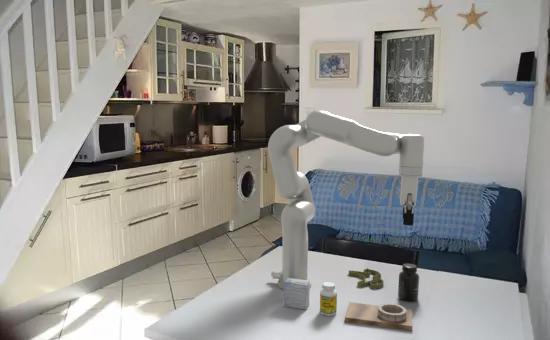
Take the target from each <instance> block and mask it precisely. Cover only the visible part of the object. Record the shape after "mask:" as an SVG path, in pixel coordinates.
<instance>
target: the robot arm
mask: <svg viewBox="0 0 550 340" xmlns="http://www.w3.org/2000/svg"><path fill="white" fill-rule="evenodd" d="M321 137H323V138H326V139H329V140H331V141H332V140H333V141H334V142H335V141H336V142H338V143H342V144H345V145H347V146H350V147H354V148H356V149H359V150H362V151H365V152H367V153H370V154H374V155H376V156H380V157H390V156H392V155H399V160H398V161H399V162H398V176H400V177H401V180H400V181H401V182H400V198H399V205H400V206H401V207H402V221H403V222H402V225H403V226H410V227H411V226H414V220H415V213H414V207H415V206H416V204H417V200H418V199H417V197H418V190H419V188H418V187H419V178H421V177H423V167H424V151H425V149H424V148H425V147H424V146H425V138H424V137H425V136H423V135H422V134H413V133H408V134H407V133H406V134H400V133H394V132H383V131H378V130H376V129H374V128H373V129H372V128H369V127H367V126H363V125H362V124H359V123H358V122H357V121H355V120H353V119H350V118H346V117H343V116H339V115H336V114H332V113H330V112H329V111H325V110H317V109H316V110H313V111H310V112H309V114H308V115H307V116H306V118H305V120H302V121H300V122H297V123H296V124H284V125H283V126H280V127H278V128H276V130H274V131H273V133H272V134H271V135H270V137H269V140H268V144H267V153H268V156H269V160H270V164H271V168H272V172H273V177H274V181H275V184H276V190H277V192H278V195H279V196H280V197H281V198H282V199H284V200H289V203H288V204H287V205H285V206H284V208H283V209H282V212H281V214H280V215H281V216H280V222H281V223H280V224H281V230H282V233H281V235H282V241H281V242H282V253H281V255H282V257H281V258H282V259H281V262H282V263H281V271H279V272H278V271H271V272H270V273H271V275H270V276H271V277H272V279H277V286H278V287H279V288H280V287H281V288H280V289H283V290H284V282H285V281H286V280H287V279H288V278H292V279H300V280H308V281H310V288H311V287H312V281H311V280H310V279H308V270H309V269H308V263H309V262H308V259H309V258H308V257H309V234H308V233H309V232H308V223H310V221H311V220H313V218H314V217H315V214H316V206H315V202H314V198H313V193H312V190H311V186H310V185H311V184H310V182H309V180H308V178H307V177H306V175H305V174H304V173H302V172H300V171H298V170H297V167H296V162H295V160H294V157H293V155H292V151H291V150H292V149H294V148H299V147H303V146H305V145H307V144H309V143H311V142H312V141H315V140H317V139H319V138H321Z"/></svg>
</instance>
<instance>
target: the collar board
mask: <svg viewBox="0 0 550 340" xmlns="http://www.w3.org/2000/svg"><path fill="white" fill-rule="evenodd" d="M344 322H345V323H351V324H359V325H365V326H366V325H367V326H373V327H380V328H387V329H395V330H403V331H408V332H410V331H411V332H412V331H413V311H412V309H408V308H405V307H404V306H403V305H400V304H396V303H390V302H387V303H386V302H385V303H382V304H380V305H377V304H369V303H368V304H367V303H361V302H353V301H349V302H348V306H347V309H346V312H345V316H344Z"/></svg>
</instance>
